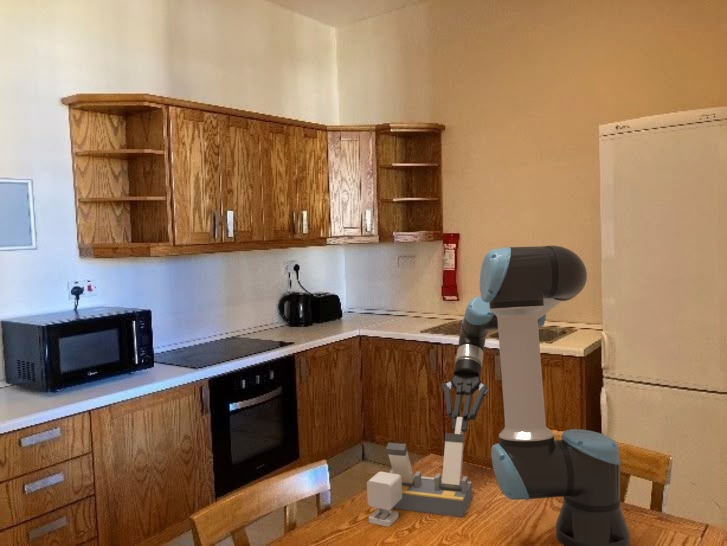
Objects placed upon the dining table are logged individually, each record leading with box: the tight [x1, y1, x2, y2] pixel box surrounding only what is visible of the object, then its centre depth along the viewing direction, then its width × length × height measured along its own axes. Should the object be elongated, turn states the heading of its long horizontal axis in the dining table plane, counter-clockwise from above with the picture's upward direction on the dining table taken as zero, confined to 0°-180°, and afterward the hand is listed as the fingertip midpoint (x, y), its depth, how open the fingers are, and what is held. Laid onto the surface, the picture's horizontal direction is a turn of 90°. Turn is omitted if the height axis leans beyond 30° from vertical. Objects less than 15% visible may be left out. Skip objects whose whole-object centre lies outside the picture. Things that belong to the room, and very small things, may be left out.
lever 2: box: [440, 432, 466, 490], centre depth 158 cm, size 5×2×13 cm, turn 69°
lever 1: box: [385, 442, 414, 485], centre depth 157 cm, size 5×2×13 cm, turn 69°
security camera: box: [366, 471, 402, 528], centre depth 150 cm, size 6×7×10 cm
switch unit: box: [388, 468, 473, 518], centre depth 158 cm, size 20×11×7 cm, turn 69°
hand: (457, 441), depth 163 cm, fingers closed
